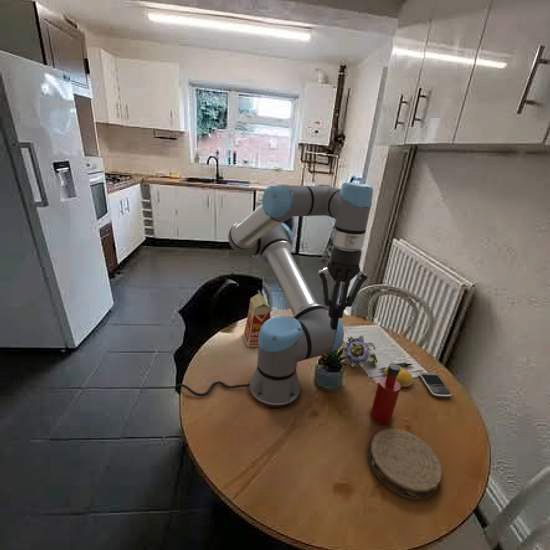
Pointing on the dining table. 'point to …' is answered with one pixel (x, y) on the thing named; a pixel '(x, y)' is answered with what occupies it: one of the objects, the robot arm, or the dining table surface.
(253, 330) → the milk carton
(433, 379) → the cell phone
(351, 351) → the passion flower
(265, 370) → the robot arm
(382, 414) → the hot sauce bottle
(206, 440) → the dining table surface
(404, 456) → the woven round trivet
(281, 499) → the dining table surface
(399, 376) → the yellow rounded piece
